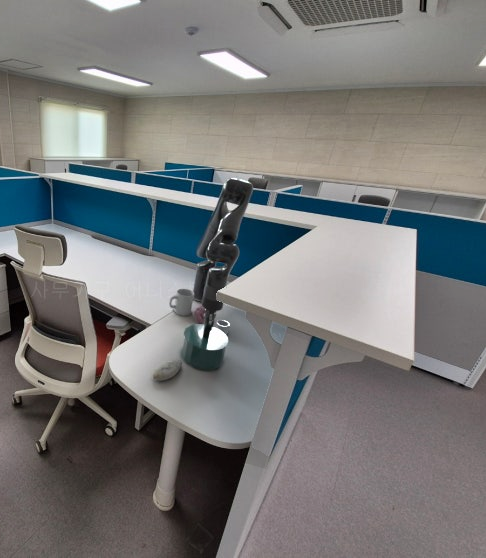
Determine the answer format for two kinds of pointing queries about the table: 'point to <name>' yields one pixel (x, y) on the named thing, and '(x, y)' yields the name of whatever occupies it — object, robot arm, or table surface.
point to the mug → (182, 302)
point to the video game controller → (199, 314)
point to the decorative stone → (167, 370)
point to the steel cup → (222, 326)
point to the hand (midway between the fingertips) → (206, 334)
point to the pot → (202, 357)
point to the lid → (212, 343)
